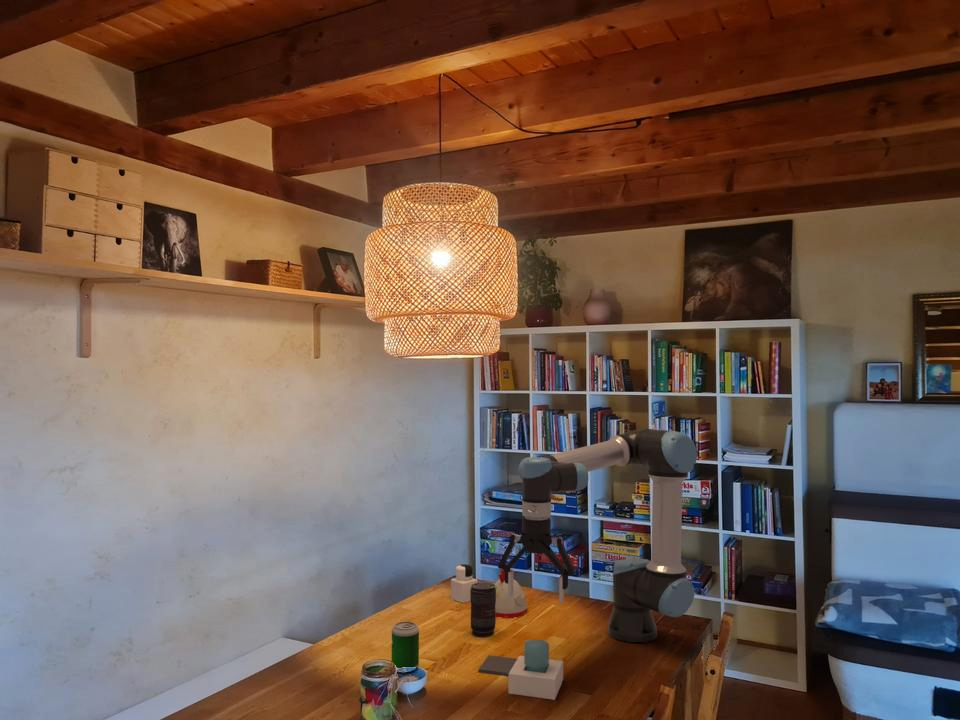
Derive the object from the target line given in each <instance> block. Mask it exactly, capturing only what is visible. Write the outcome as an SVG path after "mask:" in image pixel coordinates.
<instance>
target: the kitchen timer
mask: <svg viewBox="0 0 960 720" xmlns="http://www.w3.org/2000/svg"><path fill="white" fill-rule="evenodd" d="M510 570H513V569H512V568H511V569H510ZM500 571H501V572H500V574H498V577H499V579H498V580H496V582H495V583H493V584H494V585H495V588H496V603H495V615H496V618H498V617H502V618H501V619H515V618H514V617H517V618H520V617H519V616H521V617H523V616H522V615H524V614H525V615H526V614H527V613H528V603H527V600H526V598H527V597H526V592H524V591H523V589H522V587H521V584H519V583H518V581H517V580H515V579H514V584H513V596H512V597H511V598H510V597H508V584H507V583H505V572H504V570H503V569H500ZM526 612H527V613H526ZM525 615H524V616H525Z"/></svg>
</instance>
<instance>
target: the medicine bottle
mask: <svg viewBox="0 0 960 720" xmlns="http://www.w3.org/2000/svg"><path fill="white" fill-rule="evenodd" d="M473 572H474V571H473V566H472V565H469V564H459V565H457V566H456V567H455V577H453V578H450V599H451V600H454V601H456V602H459V603H462V604H465V603H469V602H471V601H470V589H471V585H472V584H475V583H479V581H478V579H477V578H476V579H475V578H473V576H474V575H473V574H474V573H473Z"/></svg>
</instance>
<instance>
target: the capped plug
mask: <svg viewBox="0 0 960 720" xmlns="http://www.w3.org/2000/svg"><path fill="white" fill-rule="evenodd" d="M523 649H524V651H523V652H524V653H523V656H524V664H525V665H526V666H527V671H532V672H540V673H545V672H546V667H547V666H548V665H549V659H550V644H549V642H547V641H546V640H544V639H543V640H541V639H527V640H526V641H525V642H524V647H523Z"/></svg>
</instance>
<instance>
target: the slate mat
mask: <svg viewBox="0 0 960 720" xmlns="http://www.w3.org/2000/svg"><path fill="white" fill-rule="evenodd" d="M517 659H518V658H516V657H515V658H514V657H507V656H500V655H491V654H489V655H488V656H487V657H486V658H485V659H484V661H483V662H482V663H481V665H480V667H479V668H478V672H479V673H483V674H491V675H498V676H507V677H509V672H510V670H511V669H512V667H513V666H514V664H515V662H516V661H517Z"/></svg>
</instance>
